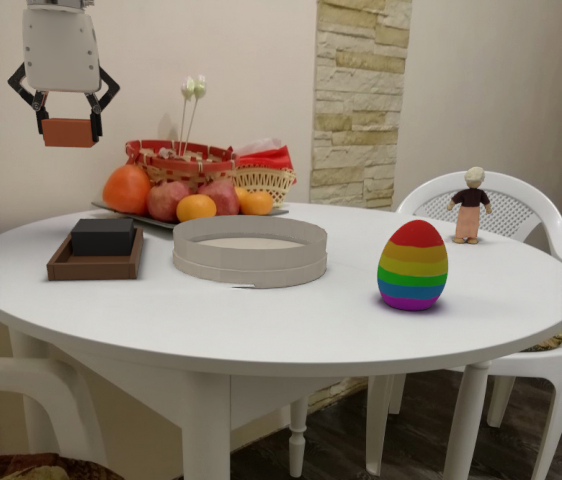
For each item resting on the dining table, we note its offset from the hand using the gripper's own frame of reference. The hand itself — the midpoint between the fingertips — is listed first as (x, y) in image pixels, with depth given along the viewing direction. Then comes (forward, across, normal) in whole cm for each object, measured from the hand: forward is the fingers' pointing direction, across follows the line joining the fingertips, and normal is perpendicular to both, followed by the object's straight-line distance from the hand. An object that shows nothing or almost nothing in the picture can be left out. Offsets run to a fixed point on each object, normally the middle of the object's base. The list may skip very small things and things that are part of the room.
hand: (71, 139), depth 84 cm
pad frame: (+15, -4, +15) cm, 22 cm away
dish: (+15, -25, +18) cm, 35 cm away
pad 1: (+1, 0, 0) cm, 1 cm away
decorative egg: (+15, -42, +36) cm, 58 cm away
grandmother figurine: (+15, -66, +6) cm, 67 cm away
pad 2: (+14, -4, +10) cm, 18 cm away
